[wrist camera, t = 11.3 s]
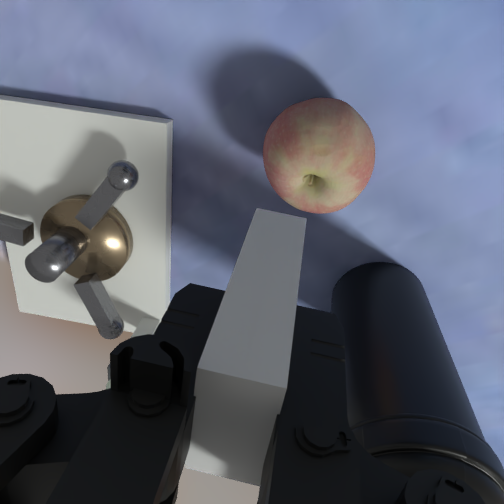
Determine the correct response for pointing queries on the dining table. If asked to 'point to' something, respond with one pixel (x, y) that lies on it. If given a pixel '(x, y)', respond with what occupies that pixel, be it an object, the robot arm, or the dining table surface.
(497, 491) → the water bottle
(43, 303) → the stand base
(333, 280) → the dining table surface
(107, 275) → the capstan
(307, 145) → the apple
